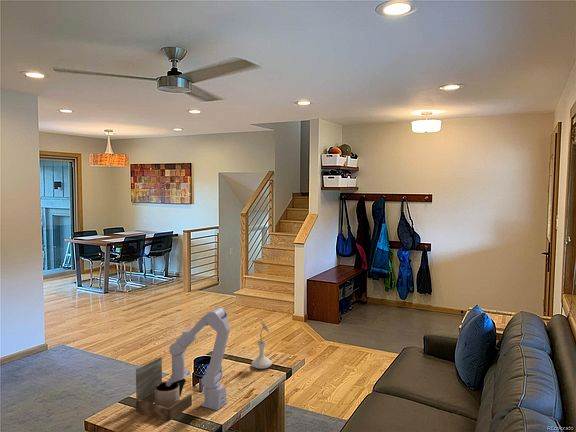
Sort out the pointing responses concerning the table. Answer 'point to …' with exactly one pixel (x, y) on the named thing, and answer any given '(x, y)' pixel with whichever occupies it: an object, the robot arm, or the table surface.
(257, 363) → the flower in vase
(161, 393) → the planter
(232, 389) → the table surface
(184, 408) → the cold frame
